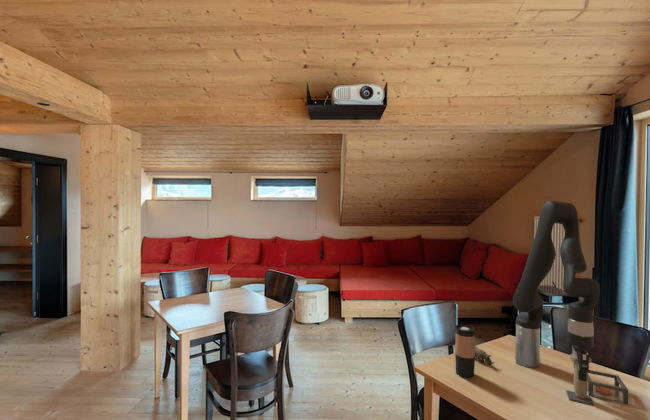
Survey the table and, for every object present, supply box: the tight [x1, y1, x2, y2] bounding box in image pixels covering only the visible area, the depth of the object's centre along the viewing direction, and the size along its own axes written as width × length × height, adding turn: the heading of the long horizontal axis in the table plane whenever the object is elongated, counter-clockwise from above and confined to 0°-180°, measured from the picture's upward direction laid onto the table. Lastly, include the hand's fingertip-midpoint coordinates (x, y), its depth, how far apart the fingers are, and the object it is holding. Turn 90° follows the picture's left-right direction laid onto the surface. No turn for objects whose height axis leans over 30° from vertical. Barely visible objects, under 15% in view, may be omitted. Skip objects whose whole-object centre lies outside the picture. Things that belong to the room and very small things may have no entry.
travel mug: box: [454, 323, 476, 379], centre depth 133 cm, size 8×8×20 cm
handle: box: [569, 353, 592, 399], centre depth 116 cm, size 5×6×15 cm
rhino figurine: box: [475, 345, 495, 367], centre depth 144 cm, size 4×14×6 cm, turn 22°
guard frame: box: [587, 369, 629, 405], centre depth 120 cm, size 11×11×5 cm
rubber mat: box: [566, 389, 595, 406], centre depth 117 cm, size 7×6×1 cm
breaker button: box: [595, 386, 613, 395], centre depth 120 cm, size 5×5×1 cm
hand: (579, 374), depth 116 cm, fingers open, 8 cm apart
